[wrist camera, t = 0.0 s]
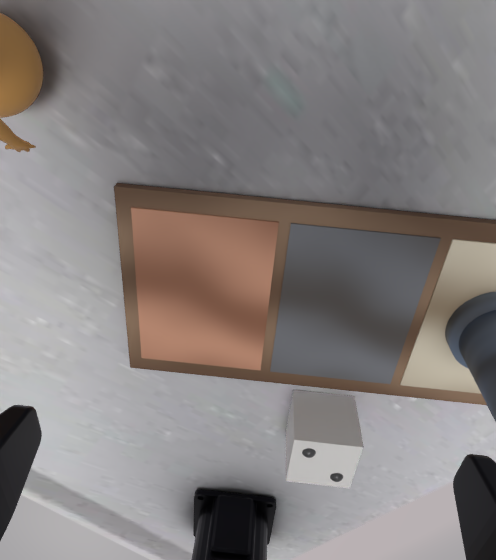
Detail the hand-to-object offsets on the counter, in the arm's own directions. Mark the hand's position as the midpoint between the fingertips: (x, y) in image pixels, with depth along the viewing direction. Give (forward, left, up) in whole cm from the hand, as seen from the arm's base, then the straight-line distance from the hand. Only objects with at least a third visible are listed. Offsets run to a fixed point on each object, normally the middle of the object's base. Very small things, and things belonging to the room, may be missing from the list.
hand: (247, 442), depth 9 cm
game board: (-6, -5, -15) cm, 17 cm away
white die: (-15, -5, -15) cm, 22 cm away
